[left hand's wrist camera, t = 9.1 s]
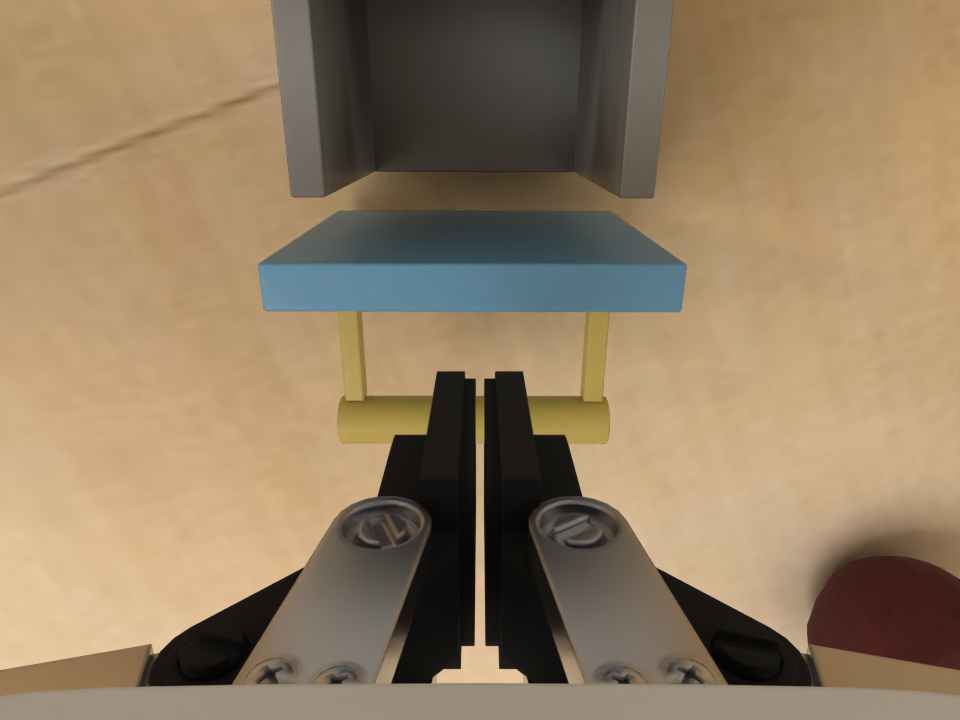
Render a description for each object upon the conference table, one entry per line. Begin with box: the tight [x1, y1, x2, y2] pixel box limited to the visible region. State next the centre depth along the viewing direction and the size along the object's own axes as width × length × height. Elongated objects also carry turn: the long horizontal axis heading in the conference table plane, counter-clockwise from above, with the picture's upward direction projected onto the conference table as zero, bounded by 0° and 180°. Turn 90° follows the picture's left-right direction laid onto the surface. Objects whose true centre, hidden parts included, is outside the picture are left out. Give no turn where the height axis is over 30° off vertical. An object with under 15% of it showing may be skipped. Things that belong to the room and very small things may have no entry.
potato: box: [807, 556, 960, 670], centre depth 27 cm, size 7×8×7 cm
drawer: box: [258, 0, 687, 444], centre depth 17 cm, size 22×10×9 cm, turn 0°
